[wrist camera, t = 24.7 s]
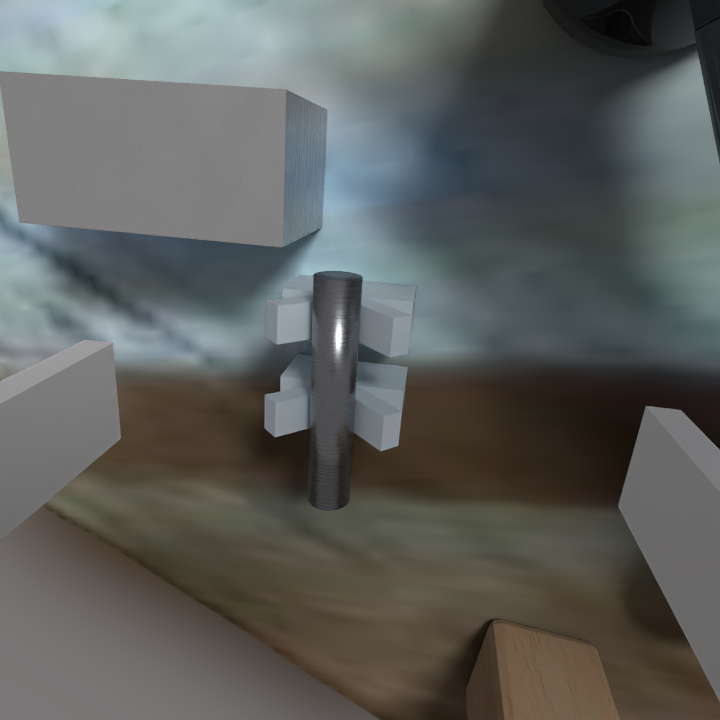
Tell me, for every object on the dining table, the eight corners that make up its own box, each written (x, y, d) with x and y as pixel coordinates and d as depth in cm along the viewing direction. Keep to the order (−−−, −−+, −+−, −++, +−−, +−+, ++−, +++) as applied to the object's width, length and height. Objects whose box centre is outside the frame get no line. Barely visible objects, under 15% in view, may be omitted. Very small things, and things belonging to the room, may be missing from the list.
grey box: (110, 95, 40) (-2, 71, 30) (327, 109, 38) (286, 89, 28) (119, 209, 42) (19, 222, 32) (321, 227, 41) (282, 247, 31)
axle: (320, 269, 35) (307, 278, 32) (366, 273, 34) (357, 283, 32) (314, 482, 41) (302, 506, 38) (353, 489, 40) (344, 513, 37)
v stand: (298, 274, 42) (260, 304, 33) (417, 286, 41) (411, 320, 32) (295, 382, 45) (259, 435, 36) (405, 395, 44) (397, 453, 35)
